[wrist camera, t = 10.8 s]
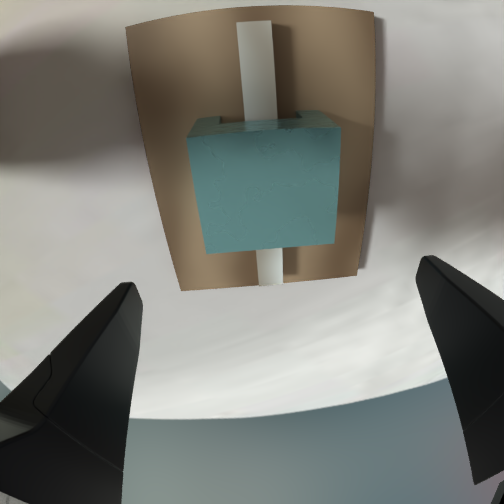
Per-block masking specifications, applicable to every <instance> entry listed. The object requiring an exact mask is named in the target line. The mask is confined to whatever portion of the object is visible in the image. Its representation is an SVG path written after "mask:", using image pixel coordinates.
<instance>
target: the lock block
mask: <svg viewBox="0 0 504 504" xmlns="http://www.w3.org/2000/svg"><path fill="white" fill-rule="evenodd" d="M186 141H187V148H188V154H189V160H190V166H191V172H192V178H193V184H194V190H195V196H196V201H197V207H198V212H199V218H200V223H201V229H202V234H203V239H204V244H205V250H206V254H215V253H227V252H239V251H251V250H263V249H275V248H286V247H298V246H310V245H322V244H334V241H335V230H336V218H337V204H338V189H339V171H340V147H341V127H340V126H338V125H337V124H336V123H335V122H333V121H332V120H331V119H330V118H328V117H327V116H326V115H325V114H323V113H322V112H321V111H319V110H298V111H296V118H291V119H271V120H256V121H243V122H232V123H221V116H214V117H206V118H198V119H197V120H196V122H195V123H194V125H193V127H192V129H191V130H190V132H189V134H188V136H187V137H186Z"/></svg>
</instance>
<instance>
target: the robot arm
mask: <svg viewBox="0 0 504 504" xmlns="http://www.w3.org/2000/svg"><path fill="white" fill-rule="evenodd" d="M416 284H417V287H418V291H419V294H420V297H421V300H422V304H423V307H424V311H425V314H426V317H427V320H428V323H429V326H430V329H431V331H432V334H433V337H434V339H435V342H436V345H437V348H438V350H439V353H440V356H441V359H442V362H443V365H444V368H445V371H446V374H447V377H448V380H449V383H450V386H451V389H452V393H453V396H454V399H455V403H456V406H457V410H458V414H459V418H460V421H461V425H462V429H463V434H464V437H465V442H466V447H467V451H468V456H469V461H470V466H471V470H472V477H473V482H474V485H477V484H478V483H481V482H482V481H485V480H487V479H488V478H490V477H492V476H494V475H496V474H498V473H500V472H501V471H503V470H504V300H503V299H501V298H500V297H498V296H497V295H496V294H494V293H493V292H491V291H490V290H488V289H487V288H485V287H484V286H482V285H481V284H479V283H477V282H476V281H474V280H473V279H471V278H470V277H468V276H467V275H465V274H463V273H462V272H460V271H459V270H457V269H456V268H454V267H452V266H451V265H449V264H447V263H446V262H444V261H443V260H441V259H439V258H438V257H436V256H434V255H429V256H424V257H422V258H421V261H420V264H419V267H418V271H417V274H416ZM142 312H143V303H142V300H141V297H140V295H139V293H138V290H137V288H136V285H135V284H134V283H133V282H122V283H120V284H119V285H118V286H117V287H116V288H115V289H114V290H113V291H112V292H111V293H109V294H108V295H107V296H106V297H105V298H104V299H103V300H102V301H101V302H100V303H99V304H98V305H97V306H96V307H95V308H94V309H93V310H92V311H91V312H90V313H89V314H88V315H87V316H86V317H85V318H84V319H83V320H82V321H81V322H80V323H79V324H78V325H77V326H76V327H75V328H74V329H73V330H72V331H71V332H70V333H69V334H68V335H67V336H66V337H65V338H64V339H63V340H62V341H61V342H60V343H59V344H58V345H57V346H56V347H55V348H54V350H53V351H52V352H51V353H50V354H49V355H48V356H47V357H46V358H45V359H44V360H43V361H42V362H41V363H40V364H39V365H38V366H37V367H36V368H35V369H34V370H33V371H32V373H30V374H29V375H28V376H27V377H26V378H25V379H24V380H23V381H22V382H21V383H20V384H19V385H18V386H17V387H16V388H15V389H14V390H13V391H12V392H11V393H9V394H8V396H6V397H5V398H4V399H3V400H2V401H1V402H0V504H121V499H122V484H123V472H122V471H123V469H124V457H125V447H126V438H127V430H128V422H129V414H130V407H131V400H132V393H133V386H134V380H135V374H136V368H137V362H138V356H139V349H140V337H141V324H142ZM491 504H504V480H503V481H502V482H500V483H499V486H498V488H497V491H496V493H495V495H494V498H493V500H492V502H491Z"/></svg>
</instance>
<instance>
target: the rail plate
mask: <svg viewBox="0 0 504 504" xmlns="http://www.w3.org/2000/svg"><path fill="white" fill-rule="evenodd" d="M125 28H126V36H127V44H128V52H129V59H130V66H131V73H132V79H133V86H134V92H135V98H136V104H137V109H138V115H139V120H140V126H141V131H142V136H143V141H144V146H145V151H146V156H147V160H148V165H149V169H150V174H151V178H152V183H153V187H154V191H155V196H156V200H157V204H158V208H159V212H160V216H161V220H162V224H163V228H164V232H165V235H166V239H167V243H168V247H169V250H170V254H171V258H172V261H173V265H174V268H175V272H176V275H177V279H178V282H179V285H180V289H181V291H189V290H203V289H217V288H230V287H243V286H255V285H259V286H267V285H279V284H283V283H289V282H299V281H310V280H320V279H329V278H339V277H348V276H357V271H358V265H359V259H360V253H361V246H362V240H363V233H364V226H365V218H366V210H367V202H368V193H369V184H370V173H371V162H372V150H373V135H374V115H375V26H374V12H370V11H363V10H355V9H346V8H335V7H321V6H293V5H279V6H251V7H236V8H225V9H216V10H208V11H201V12H194V13H188V14H182V15H176V16H171V17H166V18H161V19H157V20H152V21H148V22H144V23H140V24H136V25H132V26H128V27H125ZM298 110H319V111H321V112H322V113H323V114H325V115H326V116H327V117H328V118H330V119H331V120H332V121H333V122H335V123H336V124H337V125H338V126H340V127H341V147H340V171H339V189H338V204H337V218H336V230H335V241H334V244H322V245H310V246H298V247H286V248H275V249H263V250H251V251H239V252H227V253H215V254H206V250H205V244H204V239H203V234H202V229H201V223H200V218H199V212H198V207H197V201H196V196H195V190H194V184H193V178H192V172H191V166H190V160H189V154H188V148H187V141H186V137H187V136H188V134H189V132H190V130H191V129H192V127H193V125H194V123H195V122H196V120H197V119H198V118H206V117H214V116H221V123H232V122H243V121H256V120H271V119H291V118H296V111H298Z"/></svg>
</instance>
